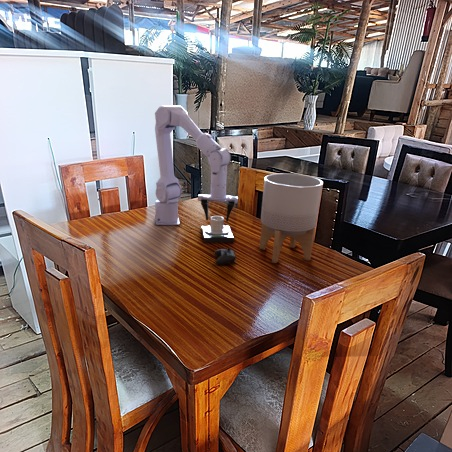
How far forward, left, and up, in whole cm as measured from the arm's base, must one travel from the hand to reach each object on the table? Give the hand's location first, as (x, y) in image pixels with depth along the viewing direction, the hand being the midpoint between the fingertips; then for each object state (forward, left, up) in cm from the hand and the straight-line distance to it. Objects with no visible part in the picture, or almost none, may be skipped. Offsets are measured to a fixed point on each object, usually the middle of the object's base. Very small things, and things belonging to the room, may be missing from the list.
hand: (217, 220), depth 152 cm
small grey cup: (0, 0, -4) cm, 4 cm away
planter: (+22, -19, -6) cm, 30 cm away
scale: (0, -1, -6) cm, 6 cm away
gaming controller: (0, -24, -6) cm, 25 cm away
